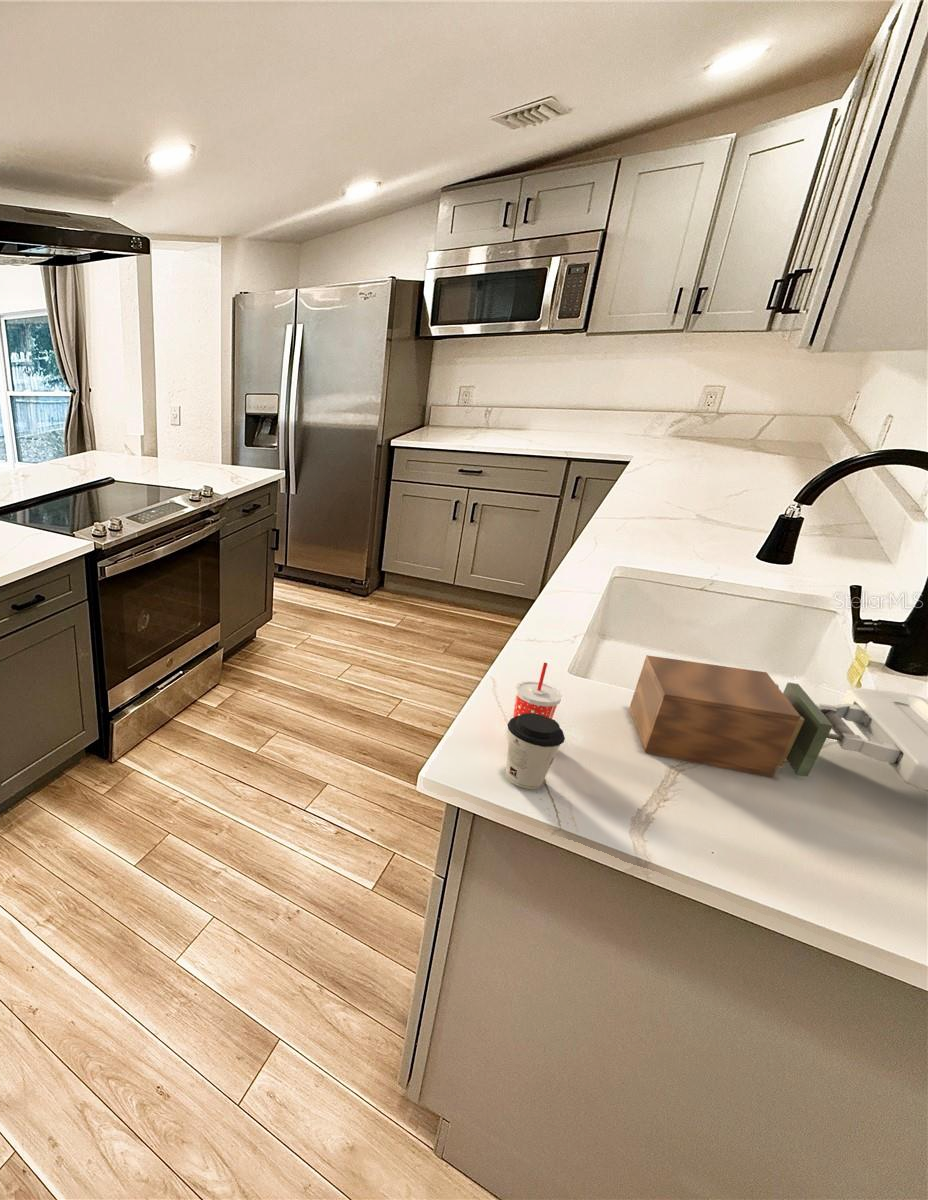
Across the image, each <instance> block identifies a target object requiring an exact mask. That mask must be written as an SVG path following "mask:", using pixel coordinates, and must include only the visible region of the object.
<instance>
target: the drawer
mask: <svg viewBox="0 0 928 1200" xmlns="http://www.w3.org/2000/svg"><path fill="white" fill-rule="evenodd" d="M775 684H776V685H777V687H778V688H779V687H780V686H779V685H778V684H777V683H775ZM779 689H780V688H779ZM782 693H783V694H784V696H785V697H786V698H787V699H788V701H789V702H790V703H791V705H792V706H793V707H794V709H795V710H796V711H797V712H798V714H799V715H800V719H799V721H798V723H797V725H796V727H795V730H794V732H793V734H792V736H791V738H790V740H789V743H788V745H787V747H786V749H785V751H784V753H783V756H782V758H781V760H780V762H779V764H778V766H777V768H784V765H785V762H786V761H787V763H788V764H789V766H790V768H791V769H792V770H793V772H794V773H795V775H796V776H802V777H807V778H808V777H809V775H810V773H811V772H812V770H813V767H814V765H815V763H816V761H817V759H818V757H819V754H820V752H821V751H822V749H823V747H824V745H825V743H826V740H827V739H829V740H834V741H837V739H838V738H839V735H840V734H842V733H848V734H853V735H856V734H855V732H853V730H852V729H851V728H850V726H848V724H846V722H845V720H843V718H840V716H839V715H838V714H836V713H834V712H828V713H825V714H823V713H822V712H821V711H820V709H819V708H818V707H817V706H816V705H817V704H816V703H815V702H814V701H813V700H812V698H811V697H810V696H809V695H808V694H807V692H806V691H805V690H804V689H803V688H802V686H801V685H800V684H799V683H795V682H787V683H786V685H785V687H784V690H783V691H782ZM831 731H832V732H833V733H831Z"/></svg>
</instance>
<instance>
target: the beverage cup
mask: <svg viewBox="0 0 928 1200" xmlns="http://www.w3.org/2000/svg"><path fill="white" fill-rule="evenodd" d="M547 668H548V663H547V662H543V665H542V668H541V673H540V676H539V681H533V680H525V681H520V682H518V683H517V684H516V686H515V690H514V693H515V701H514V708H513V715H512V718H514V717H515V716H520V715H522V714H525V713H534V714H539V715H542V716H545V717H548V718H551V719H553V718H554V714H555V712H556V709H557V706H558V705H559V704H560V703H561V700H562V698H563V694H562V693H561V691H560V690H558V689H557V688H556V687H555V686H552V685H549V684H548V683H544V679H545V675H546V671H547Z"/></svg>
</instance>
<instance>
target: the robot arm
mask: <svg viewBox="0 0 928 1200" xmlns="http://www.w3.org/2000/svg"><path fill="white" fill-rule="evenodd" d="M815 705H816V706H817V707H818V708H819V709H820V711H821V712H822V713H823V714H825V713H828V712H834V713H836V714H838V715H839V716H840V718H841V719H844V721H848V722H852V723H853V724H854V725H855V727H856V728H857V729H858V730H859V731H860V732H861V734H863V736H864V737H865V739H864V738H862V737H861V736H860V735H858V734H855V735H853V734H848V733H842V734H840V735H839V738H838V739H837V740H836V742H837V744H838V746H840V747H841V749H843V750H846V751H850V752H856V753H859V754H862V755H864V756H867V757H869V758H872V759H875V760H877V761H880V762H883V763H888V765H890V766H891V768H892V769H893V770H894V771H895V773H897V775H898V776H899V777H900V778H901V779H902V780H903V781H904V783H906V784H908V785H910V786H912V787H915V788H917V789H920V790H924V791H928V698H923V697H921V696H918V695H914V694H909V693H905V692H897V691H889V690H882V689H873V688H864V687H858V688H857V687H856V688H850V689H848V690H847V691H846V692H845V694H844V696H843V698H842V700H841V702H840V703H839V704H833V705H832V704H825V703H816V704H815Z"/></svg>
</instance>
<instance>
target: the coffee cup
mask: <svg viewBox="0 0 928 1200" xmlns="http://www.w3.org/2000/svg"><path fill="white" fill-rule="evenodd" d="M507 730H508V732H507V733H508V735H507V737H508V738H507V750H506V765H505V777H506V778H507V780H508V781H509V782H510V783H512V784H513V785H515V786H516V787H519V788H521V789H527V790H536V789H539V788H541V787H542V785H543V783H544V781H545V778H546V777H547V774H548V772H549V770H550V768H551V766H552V763H553V761H554V759H555V758H556V755H557V753H558V752H559V748H560V747H561V745H562V744H563V743H565V740H566V737H565V733H564V731H563V729H562V728H561V727H560V724H559V723H558V721H556V720H555V719H553V718H552V719H551V718H548V717H545V716H542V715H539V714H534V713H525V714H522V715H520V716H515V717H514V718H513V717H512V718H510V720H509V721H508V722H507Z"/></svg>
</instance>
